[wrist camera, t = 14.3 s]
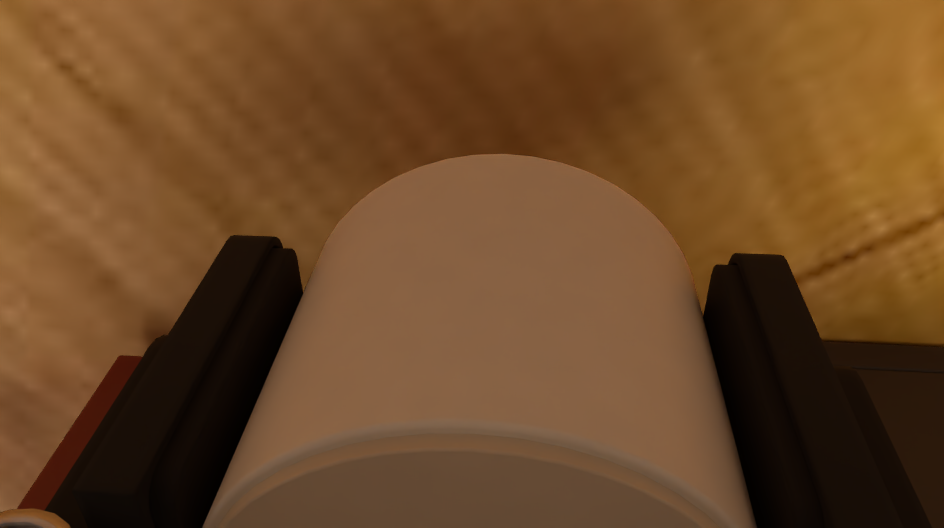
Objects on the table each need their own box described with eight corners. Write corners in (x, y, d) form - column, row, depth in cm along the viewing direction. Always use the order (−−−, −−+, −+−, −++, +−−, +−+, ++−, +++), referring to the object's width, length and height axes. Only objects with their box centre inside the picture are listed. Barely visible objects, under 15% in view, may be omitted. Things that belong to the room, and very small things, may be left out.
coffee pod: (333, 446, 12) (241, 756, 8) (286, 145, 9) (115, 419, 6) (669, 464, 12) (723, 797, 8) (728, 157, 9) (853, 461, 5)
